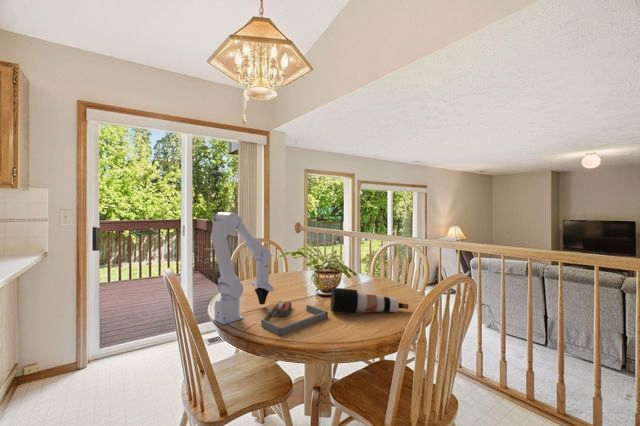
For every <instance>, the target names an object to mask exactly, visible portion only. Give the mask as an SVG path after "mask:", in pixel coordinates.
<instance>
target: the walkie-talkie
mask: <svg viewBox="0 0 640 426" xmlns="http://www.w3.org/2000/svg"><path fill="white" fill-rule="evenodd" d="M291 309H292V302H290V301H285V300H281V301H278V302H277V303H276V304H275V305H274V306H272V307H269V309H268V310H266V315H265V317H264V318H263V319H264V320H266V321H268V319H269V318H270V317H281V318H282V317H284V318H285V317H288V315H289V313H290V311H291Z"/></svg>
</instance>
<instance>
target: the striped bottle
mask: <svg viewBox="0 0 640 426" xmlns="http://www.w3.org/2000/svg"><path fill="white" fill-rule="evenodd" d="M409 306H410V305H409V304H408V303H403V302H399V300H398V298H397V297H387V296H381V295H376V294H365V293H361V292H358V290H357V289H352V288H351V289H350V288H339V287H332V290H331V296H330V311H331V312H333V313H342V314H356V313H357V311H358V312H360V311H361V312H362V311H363V312H378V313H379V312H380V313H383V312H384V313H397V312H398V311H399V309H406V310H408V309H409V308H410V307H409Z"/></svg>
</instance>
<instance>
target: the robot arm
mask: <svg viewBox="0 0 640 426" xmlns="http://www.w3.org/2000/svg"><path fill="white" fill-rule="evenodd" d="M211 221H212V229H211V233H210V236H211V237H210V239H211V241H212V246H213V250H214V254H215V258H216V262H217V266H218V271H219V275H220V277H218V279H217V292H218V293H219V294H220V298H219V299H217V300H215V302H214V317H213V320H214V321H216V322H218V323H220V324H221V325H226V324H229V323H232V322H236V321H238V320H239V321H240V320H242V319H244V318H245V317H244V316H242V314H241V315H240V299H241V296H242V295H243V292H244V286H243V284H242V283H241V281H240V278H239V277H238V276H237V274H235V270H234V265H233V261H232V256H231V252H230V248H229V244H228V243H229V242H228V237H229V234H231V233H232V232H233V231H235V232H236V233H238V235H239V236H240V237H241V238H242V239H243V240H244V241H245V246H246V247H247V248H248V251H250V252H251V253H252V257H253V259H254V260H255V280H254V281H253V280H252V281H251V286H252V287H255V288H254V291H255V293H256V295H257V301H258V304H259V305H260V306H261V305H265V304H266V301H267V297H268V295H269V293H270V292H271V293H272V292H274V288H275V287H274V286H273V285H271V282H269V281H270V280H269V279H270V278H269V276H270V273H269V272H270V269H269V267H270V266H269V265H270V263H271V259H272V256H273V255H272V253H271V251H270V250H269V249H267V248H266V247H265V245H264V244H262V242H261V241H260V238H259V237H256V236H253V235H252V234H251V233H250V231H249V229H248V228H247V227H246V225H245V223H243V219H242V218H241V217H240V216H239V214H238V213H236V212H233V211H232V212H223V211H219V212H217V213H216V214H215V215H214V216H213V218H212V219H211Z"/></svg>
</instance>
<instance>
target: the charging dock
mask: <svg viewBox="0 0 640 426" xmlns="http://www.w3.org/2000/svg"><path fill="white" fill-rule="evenodd" d="M305 307H306V310H305V311H306V312H308V313H310V314H313V315H311V316H309V317H305V318H303V319H300V320H297V321H295V322H292V323H290V324H286V325H283V326H278V325H277V324H274V323H272V322H270V321H268V320H264V318H263V319H261V320H260V321H261V323H260V327H262V328H264V329H266V330H267V331H270V332H272V333H273V334H275V335H277V336H279V337H281V336H284V335H286V334H289V333H292V332H294V331H296V330H299V329H300V330H301V329H302V328H304V327H308V326H309V325H312V324H315V323H318V322H320V321H323V320H325V319H327V318H328V311H327V310H324V309H321V308H318V307H315V306H313V305H310V304H306V306H305Z"/></svg>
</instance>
